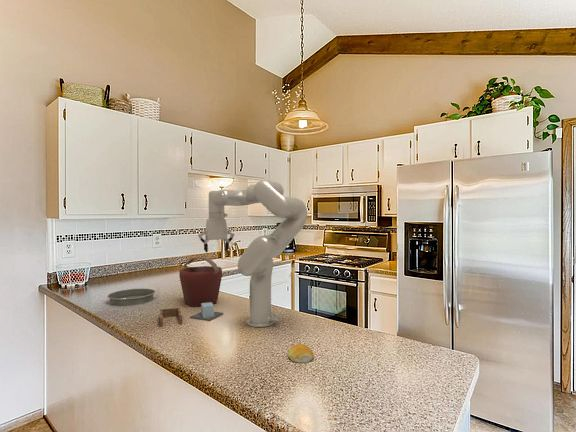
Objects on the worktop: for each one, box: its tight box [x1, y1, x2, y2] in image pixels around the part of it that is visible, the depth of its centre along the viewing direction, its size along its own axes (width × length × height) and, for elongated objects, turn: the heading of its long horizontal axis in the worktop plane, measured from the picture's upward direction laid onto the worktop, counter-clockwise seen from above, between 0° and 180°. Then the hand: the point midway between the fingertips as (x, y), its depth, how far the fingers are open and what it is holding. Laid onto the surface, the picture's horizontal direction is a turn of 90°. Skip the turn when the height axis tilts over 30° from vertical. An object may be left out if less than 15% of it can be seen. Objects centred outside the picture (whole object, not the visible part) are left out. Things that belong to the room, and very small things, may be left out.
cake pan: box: [106, 288, 156, 307], centre depth 185 cm, size 25×25×4 cm
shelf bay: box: [159, 307, 183, 328], centre depth 149 cm, size 15×9×4 cm, turn 22°
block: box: [200, 302, 215, 318], centre depth 155 cm, size 7×5×5 cm
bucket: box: [178, 256, 223, 308], centre depth 180 cm, size 24×22×25 cm
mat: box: [189, 311, 224, 322], centre depth 156 cm, size 11×11×1 cm
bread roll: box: [287, 343, 315, 364], centre depth 110 cm, size 8×9×4 cm
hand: (216, 251), depth 159 cm, fingers open, 9 cm apart
